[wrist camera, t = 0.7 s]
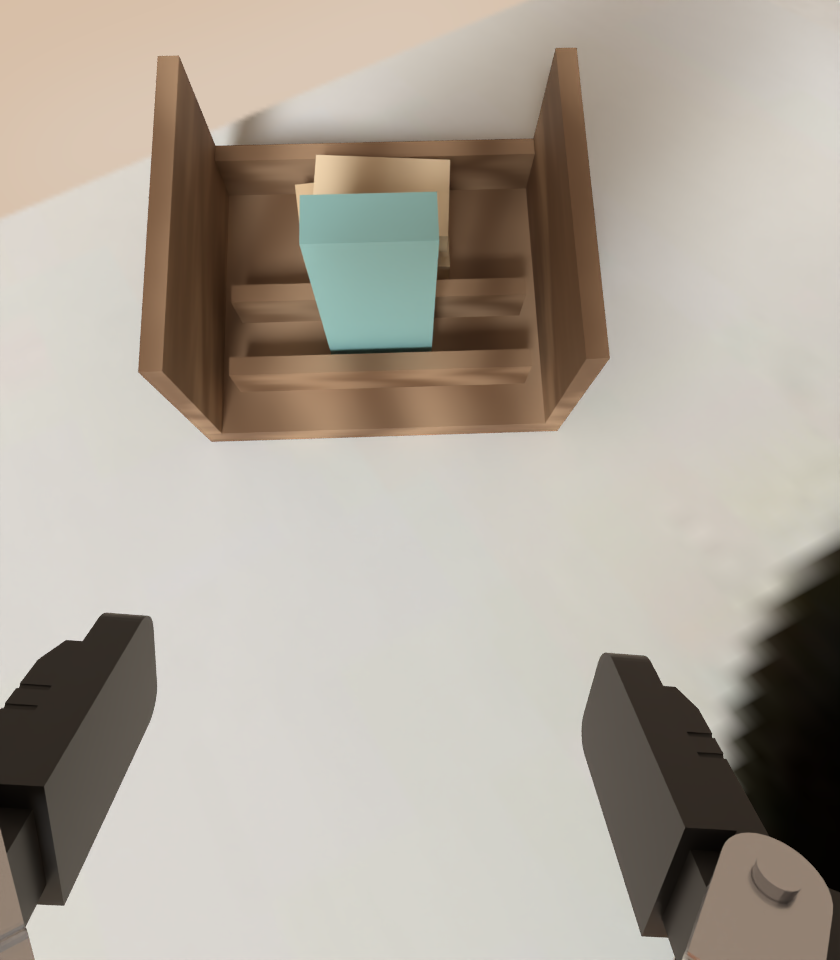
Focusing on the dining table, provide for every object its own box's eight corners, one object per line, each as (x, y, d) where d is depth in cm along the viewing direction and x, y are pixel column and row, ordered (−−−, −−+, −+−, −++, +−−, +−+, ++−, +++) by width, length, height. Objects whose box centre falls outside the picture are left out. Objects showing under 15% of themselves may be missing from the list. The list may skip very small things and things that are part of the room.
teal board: (429, 325, 38) (436, 191, 27) (430, 361, 38) (439, 240, 26) (333, 328, 38) (299, 194, 27) (334, 364, 38) (299, 244, 26)
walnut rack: (536, 189, 42) (576, 47, 32) (557, 430, 39) (609, 358, 28) (219, 197, 42) (157, 56, 32) (211, 441, 38) (138, 372, 28)
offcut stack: (445, 201, 40) (449, 149, 36) (449, 283, 39) (454, 238, 35) (303, 205, 40) (290, 152, 36) (303, 287, 39) (289, 243, 34)
